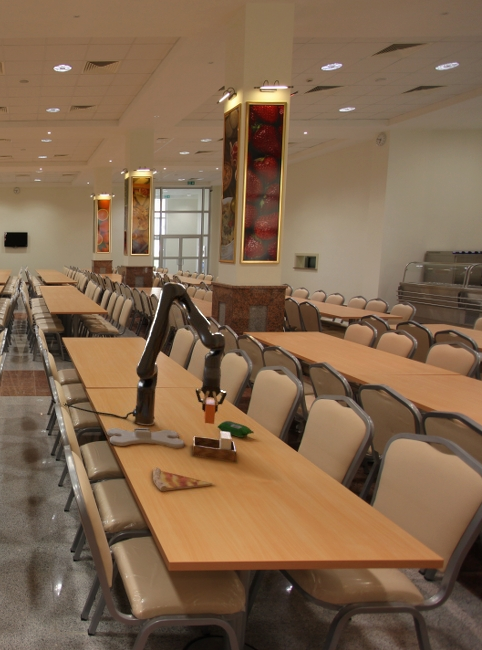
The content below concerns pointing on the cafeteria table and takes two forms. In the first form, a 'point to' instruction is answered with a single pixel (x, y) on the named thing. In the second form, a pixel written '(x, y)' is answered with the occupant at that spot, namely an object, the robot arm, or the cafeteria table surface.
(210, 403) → the block
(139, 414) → the robot arm
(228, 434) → the block
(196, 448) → the brown wooden tray
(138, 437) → the holder
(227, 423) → the snack package
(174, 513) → the cafeteria table surface
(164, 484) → the pizza slice
